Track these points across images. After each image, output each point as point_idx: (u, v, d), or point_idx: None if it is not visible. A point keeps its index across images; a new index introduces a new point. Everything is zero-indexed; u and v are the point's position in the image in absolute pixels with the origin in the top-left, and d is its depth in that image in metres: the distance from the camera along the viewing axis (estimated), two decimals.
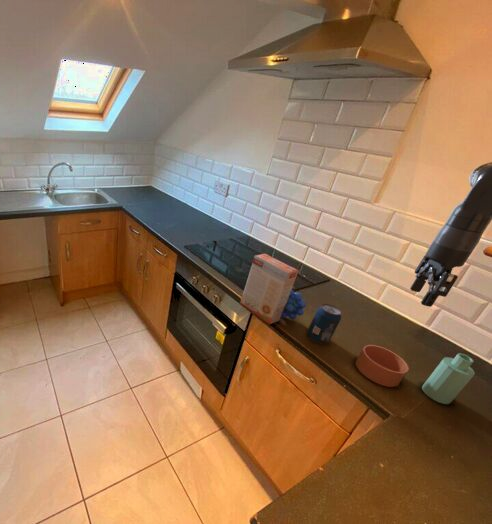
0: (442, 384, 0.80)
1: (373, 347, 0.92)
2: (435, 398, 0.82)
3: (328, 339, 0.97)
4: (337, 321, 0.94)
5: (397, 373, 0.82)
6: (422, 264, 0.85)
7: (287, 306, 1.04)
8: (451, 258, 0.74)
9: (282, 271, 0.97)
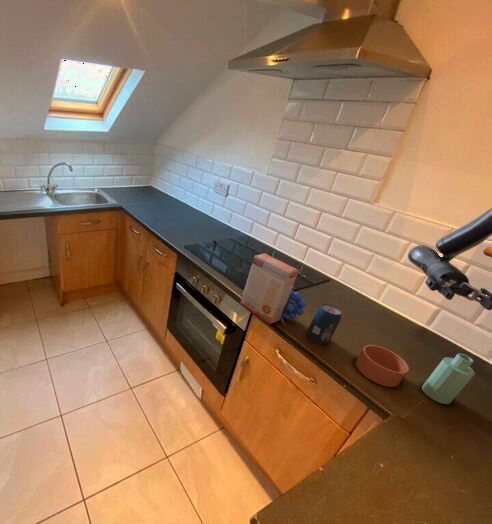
0: (442, 384, 0.80)
1: (373, 347, 0.92)
2: (435, 398, 0.82)
3: (328, 339, 0.97)
4: (337, 321, 0.94)
5: (397, 373, 0.82)
6: (480, 298, 0.86)
7: (287, 306, 1.04)
8: None
9: (282, 271, 0.97)
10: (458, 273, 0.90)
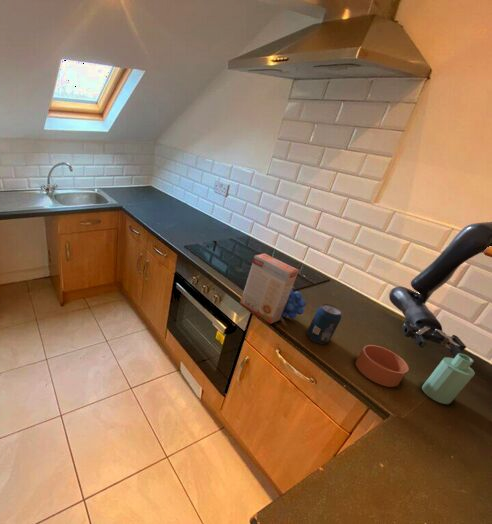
0: (442, 384, 0.80)
1: (373, 347, 0.92)
2: (435, 398, 0.82)
3: (328, 339, 0.97)
4: (337, 321, 0.94)
5: (397, 373, 0.82)
6: (452, 345, 0.92)
7: (287, 305, 1.04)
8: (410, 322, 1.00)
9: (282, 271, 0.97)
10: (432, 320, 0.95)
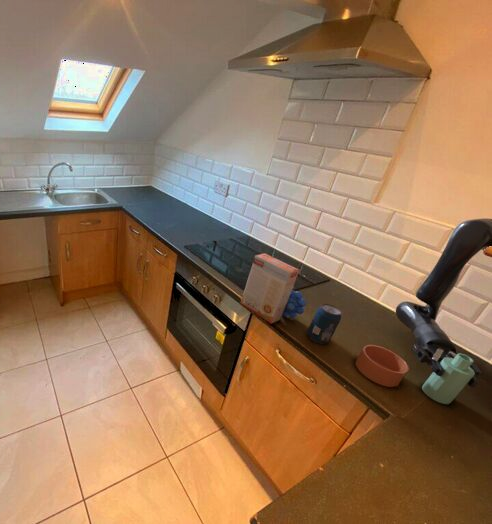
0: (442, 384, 0.80)
1: (373, 347, 0.92)
2: (435, 398, 0.82)
3: (328, 339, 0.97)
4: (337, 321, 0.94)
5: (397, 373, 0.82)
6: None
7: (288, 305, 1.05)
8: (420, 343, 0.91)
9: (283, 271, 0.97)
10: (445, 341, 0.87)
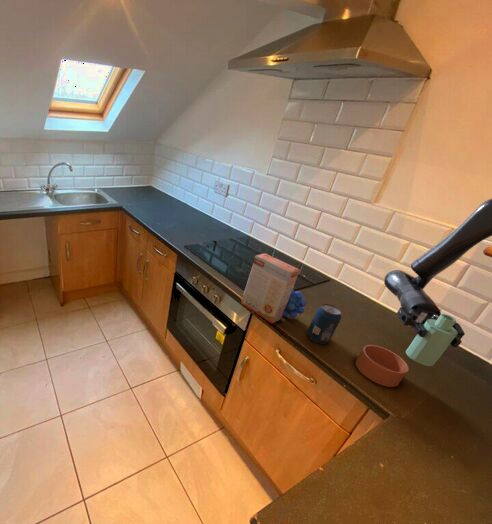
0: (425, 345, 0.79)
1: (373, 347, 0.92)
2: (418, 360, 0.81)
3: (328, 339, 0.97)
4: (337, 321, 0.94)
5: (397, 373, 0.82)
6: None
7: (288, 305, 1.05)
8: (405, 308, 0.90)
9: (284, 271, 0.98)
10: (429, 304, 0.85)
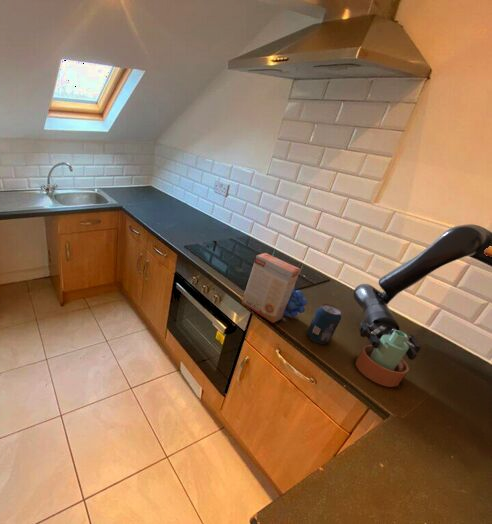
0: (380, 359, 0.85)
1: (373, 347, 0.92)
2: None
3: (328, 339, 0.97)
4: (337, 321, 0.94)
5: (397, 373, 0.82)
6: None
7: (289, 304, 1.05)
8: (368, 322, 0.96)
9: (285, 270, 0.98)
10: (389, 319, 0.92)
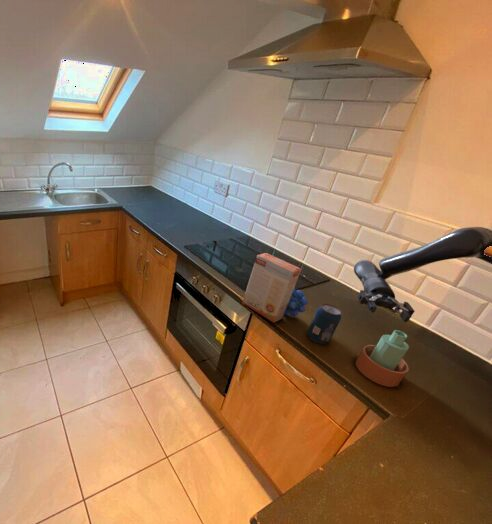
0: (380, 359, 0.85)
1: (373, 347, 0.92)
2: None
3: (328, 339, 0.97)
4: (337, 321, 0.94)
5: (397, 373, 0.82)
6: None
7: (290, 304, 1.05)
8: (366, 292, 1.05)
9: (286, 270, 0.98)
10: (385, 288, 1.00)
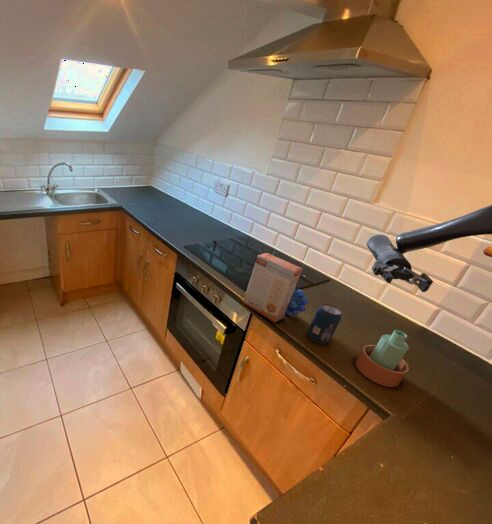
0: (380, 359, 0.85)
1: (373, 347, 0.92)
2: None
3: (328, 339, 0.97)
4: (337, 321, 0.94)
5: (397, 373, 0.82)
6: None
7: (291, 303, 1.06)
8: (381, 265, 1.00)
9: (287, 270, 0.98)
10: (401, 259, 0.95)
